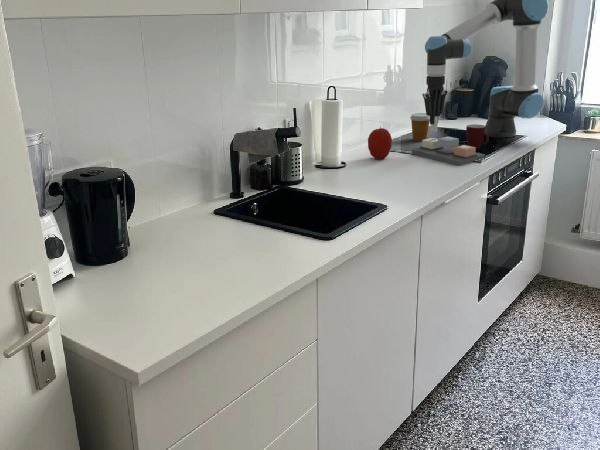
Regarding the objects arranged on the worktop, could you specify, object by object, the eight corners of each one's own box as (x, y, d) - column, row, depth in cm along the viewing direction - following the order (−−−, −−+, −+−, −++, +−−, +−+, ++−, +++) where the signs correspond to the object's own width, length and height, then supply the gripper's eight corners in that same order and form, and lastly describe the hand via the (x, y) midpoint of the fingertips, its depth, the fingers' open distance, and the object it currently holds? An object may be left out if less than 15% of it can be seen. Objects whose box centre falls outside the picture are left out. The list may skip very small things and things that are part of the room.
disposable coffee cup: (420, 143, 275) (422, 117, 271) (405, 140, 282) (406, 114, 278) (434, 140, 281) (435, 114, 277) (418, 136, 288) (419, 112, 284)
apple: (375, 154, 257) (376, 122, 253) (396, 157, 252) (397, 125, 247) (362, 159, 250) (363, 126, 245) (383, 162, 244) (384, 129, 239)
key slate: (447, 143, 253) (448, 135, 252) (458, 145, 249) (459, 138, 247) (437, 145, 250) (438, 137, 249) (448, 147, 245) (449, 140, 244)
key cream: (431, 144, 261) (432, 137, 260) (442, 146, 256) (442, 139, 255) (422, 146, 258) (422, 139, 257) (432, 149, 253) (432, 141, 252)
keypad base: (437, 148, 265) (437, 142, 264) (484, 159, 245) (485, 153, 244) (411, 153, 257) (412, 148, 256) (458, 165, 237) (458, 159, 236)
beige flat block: (463, 151, 247) (464, 144, 246) (475, 154, 242) (475, 146, 241) (453, 154, 244) (454, 146, 243) (465, 156, 239) (465, 149, 238)
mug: (492, 148, 262) (494, 126, 258) (484, 152, 256) (486, 129, 253) (469, 145, 268) (471, 123, 265) (461, 149, 263) (463, 126, 259)
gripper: (439, 72, 253) (437, 127, 261) (418, 76, 246) (416, 132, 254) (453, 74, 247) (450, 130, 255) (431, 77, 240) (429, 135, 249)
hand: (433, 131), depth 255 cm, fingers closed
